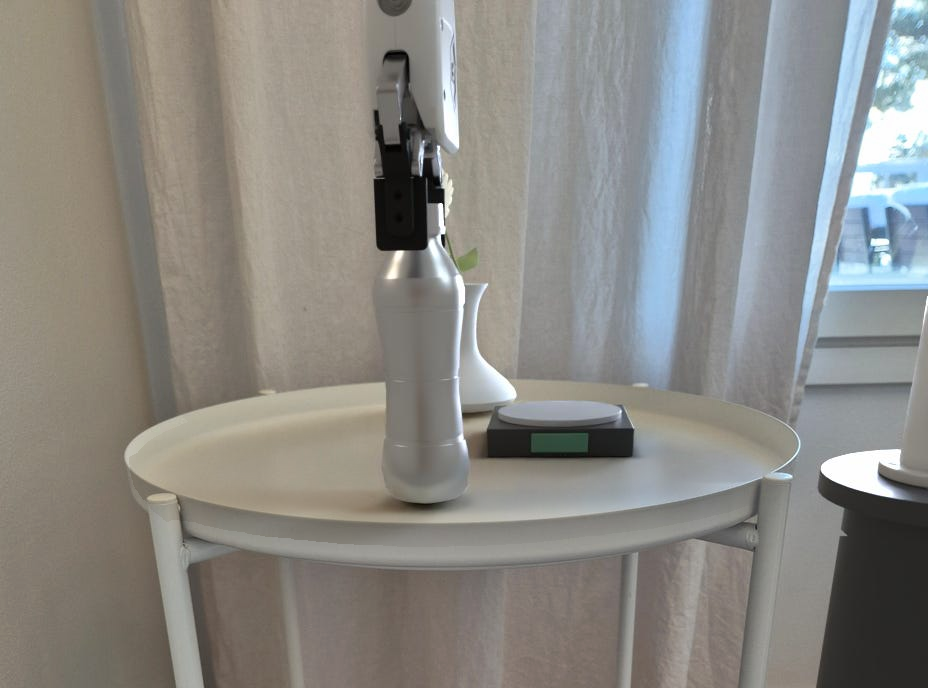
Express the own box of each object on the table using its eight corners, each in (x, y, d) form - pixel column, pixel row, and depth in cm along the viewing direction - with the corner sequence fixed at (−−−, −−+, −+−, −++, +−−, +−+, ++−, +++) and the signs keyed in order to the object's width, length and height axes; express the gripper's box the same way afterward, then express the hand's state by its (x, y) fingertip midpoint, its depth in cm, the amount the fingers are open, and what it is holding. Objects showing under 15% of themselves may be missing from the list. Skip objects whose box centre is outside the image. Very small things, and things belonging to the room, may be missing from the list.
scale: (622, 429, 91) (623, 398, 90) (633, 457, 78) (635, 422, 77) (495, 430, 92) (495, 399, 91) (486, 458, 80) (486, 423, 79)
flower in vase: (476, 400, 111) (472, 175, 101) (536, 410, 102) (540, 166, 92) (388, 413, 104) (375, 172, 94) (445, 425, 95) (438, 162, 85)
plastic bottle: (413, 518, 62) (399, 201, 54) (367, 499, 68) (348, 207, 60) (488, 503, 66) (485, 202, 58) (438, 486, 71) (429, 207, 63)
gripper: (453, -123, 45) (456, 249, 51) (478, -25, 60) (478, 250, 67) (307, -115, 45) (329, 251, 52) (370, -20, 61) (381, 251, 68)
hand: (413, 250), depth 60 cm, fingers open, 9 cm apart
